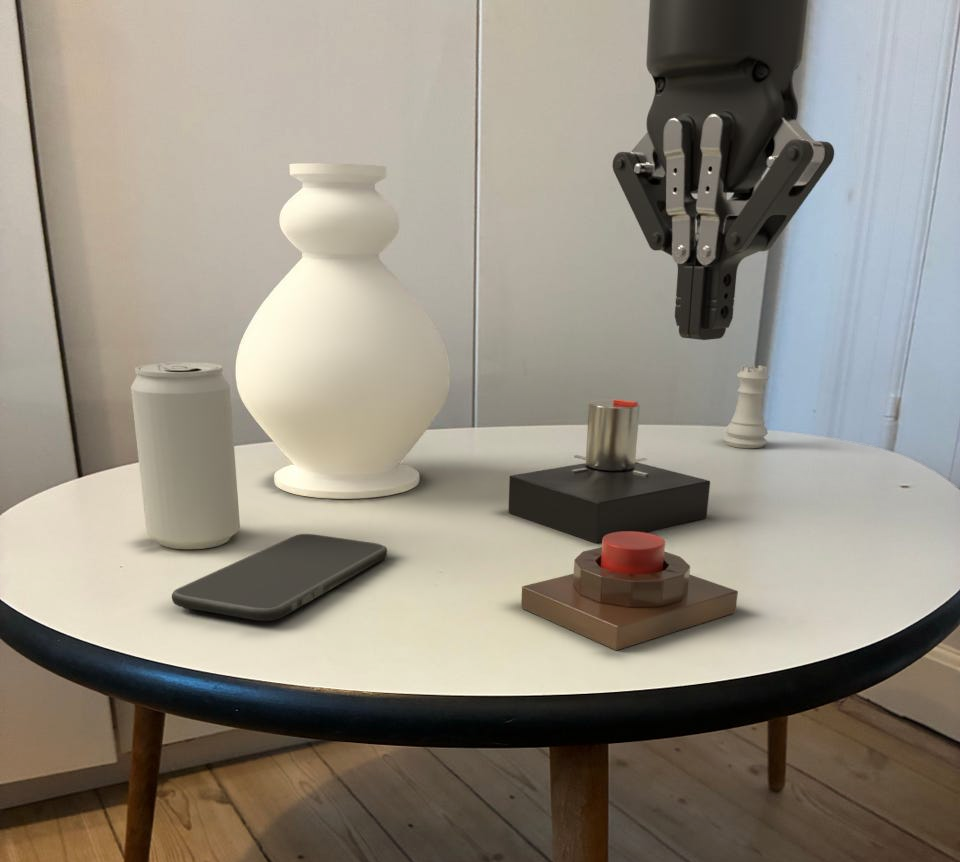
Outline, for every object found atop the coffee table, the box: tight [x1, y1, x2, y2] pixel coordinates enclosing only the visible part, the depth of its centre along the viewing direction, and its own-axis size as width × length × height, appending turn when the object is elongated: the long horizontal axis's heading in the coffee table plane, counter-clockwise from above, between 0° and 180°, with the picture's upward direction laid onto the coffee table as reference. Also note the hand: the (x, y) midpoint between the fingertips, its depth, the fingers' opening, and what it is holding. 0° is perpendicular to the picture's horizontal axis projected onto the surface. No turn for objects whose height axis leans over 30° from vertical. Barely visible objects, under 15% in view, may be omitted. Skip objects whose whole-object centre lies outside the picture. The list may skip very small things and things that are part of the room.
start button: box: [601, 531, 666, 574], centre depth 59 cm, size 4×4×2 cm
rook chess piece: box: [723, 364, 770, 449], centre depth 106 cm, size 4×4×8 cm
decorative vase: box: [235, 162, 451, 500], centre depth 85 cm, size 18×18×25 cm
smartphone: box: [171, 533, 388, 622], centre depth 64 cm, size 7×1×15 cm
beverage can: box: [130, 361, 241, 550], centre depth 70 cm, size 6×6×12 cm
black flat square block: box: [508, 454, 711, 544], centre depth 81 cm, size 13×12×3 cm
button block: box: [520, 546, 739, 651], centre depth 60 cm, size 10×8×3 cm
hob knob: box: [585, 398, 640, 471], centre depth 82 cm, size 4×4×5 cm
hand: (701, 337), depth 56 cm, fingers closed
